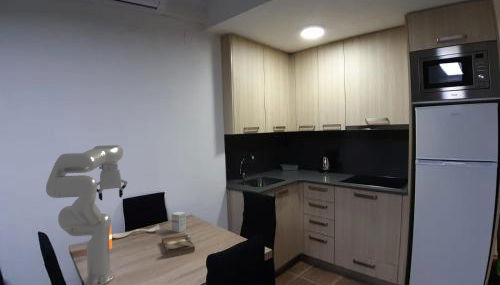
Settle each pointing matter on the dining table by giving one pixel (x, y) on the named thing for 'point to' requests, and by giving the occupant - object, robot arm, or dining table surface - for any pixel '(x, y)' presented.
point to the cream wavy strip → (120, 235)
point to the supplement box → (178, 221)
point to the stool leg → (178, 243)
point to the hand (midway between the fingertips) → (111, 198)
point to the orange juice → (110, 238)
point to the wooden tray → (180, 249)
